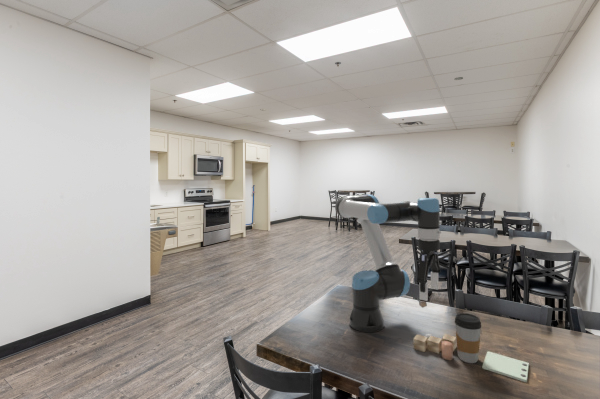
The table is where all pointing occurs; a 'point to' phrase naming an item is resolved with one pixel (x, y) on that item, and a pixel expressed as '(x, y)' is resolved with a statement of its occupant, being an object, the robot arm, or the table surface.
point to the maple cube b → (434, 344)
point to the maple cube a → (420, 343)
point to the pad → (506, 366)
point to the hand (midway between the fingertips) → (429, 294)
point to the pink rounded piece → (447, 350)
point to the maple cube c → (450, 340)
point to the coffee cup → (468, 337)
